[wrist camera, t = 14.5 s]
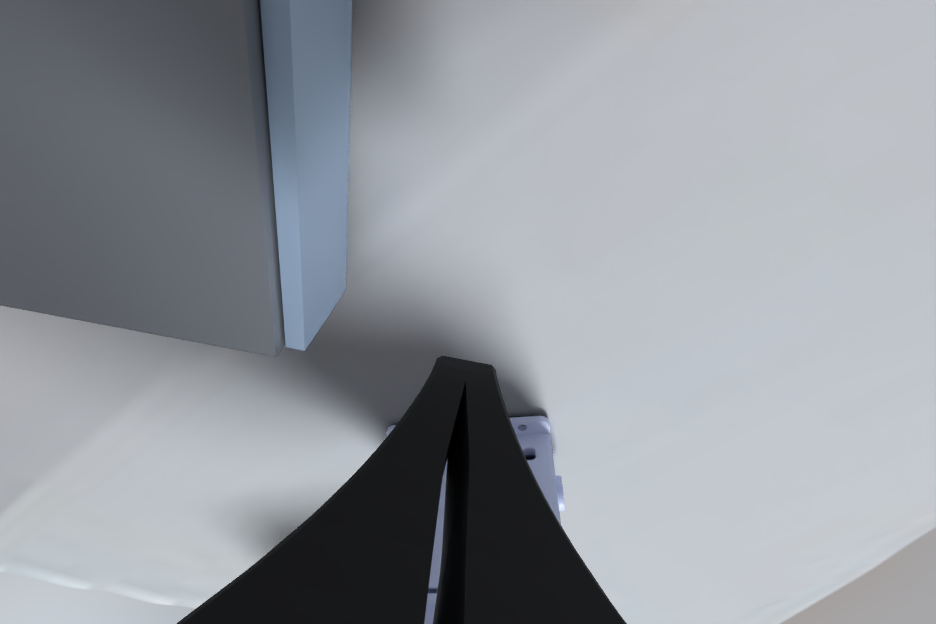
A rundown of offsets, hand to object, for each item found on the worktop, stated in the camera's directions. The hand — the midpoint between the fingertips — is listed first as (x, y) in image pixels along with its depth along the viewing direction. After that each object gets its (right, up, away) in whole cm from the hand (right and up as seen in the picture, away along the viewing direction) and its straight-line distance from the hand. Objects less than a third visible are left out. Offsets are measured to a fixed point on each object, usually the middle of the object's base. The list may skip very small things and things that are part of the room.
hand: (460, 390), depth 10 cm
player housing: (-11, +9, +6) cm, 15 cm away
